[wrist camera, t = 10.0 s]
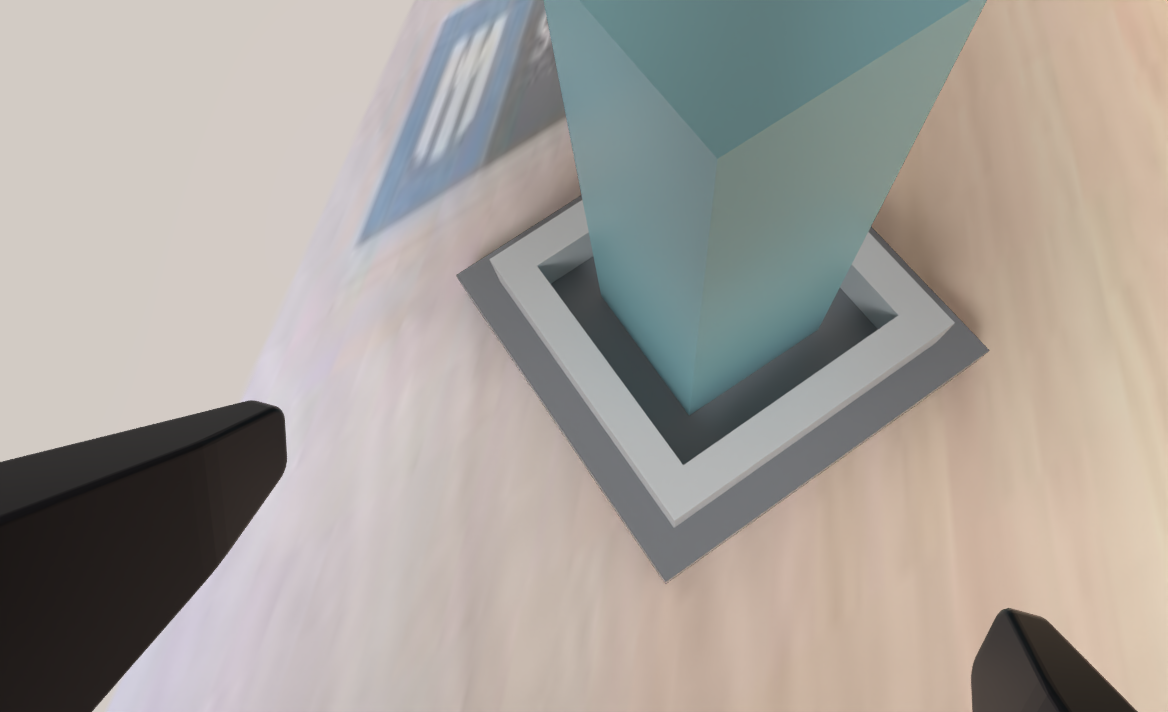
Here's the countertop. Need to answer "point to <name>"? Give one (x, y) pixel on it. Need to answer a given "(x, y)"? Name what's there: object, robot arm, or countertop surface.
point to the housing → (740, 159)
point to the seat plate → (733, 419)
